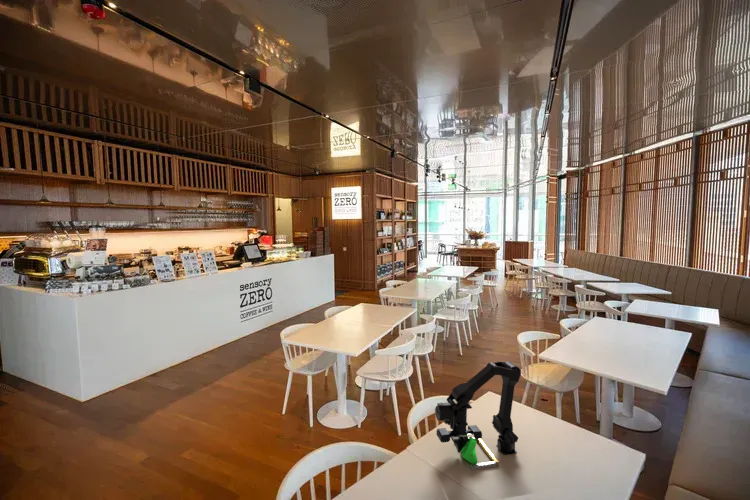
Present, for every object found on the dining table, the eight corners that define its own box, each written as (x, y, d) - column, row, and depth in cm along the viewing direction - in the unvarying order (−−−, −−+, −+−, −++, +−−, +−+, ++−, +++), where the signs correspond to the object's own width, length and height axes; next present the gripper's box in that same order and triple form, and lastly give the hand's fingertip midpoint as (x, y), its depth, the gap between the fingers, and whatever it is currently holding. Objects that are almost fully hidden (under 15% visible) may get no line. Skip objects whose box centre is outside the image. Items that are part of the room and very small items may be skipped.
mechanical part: (474, 465, 137) (485, 451, 136) (462, 456, 138) (472, 442, 137) (471, 446, 149) (481, 433, 148) (460, 438, 150) (469, 425, 149)
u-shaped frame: (478, 439, 154) (478, 435, 154) (498, 465, 137) (498, 461, 137) (454, 442, 152) (454, 439, 152) (471, 470, 135) (471, 465, 135)
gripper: (471, 405, 151) (470, 438, 152) (432, 409, 148) (431, 442, 149) (483, 419, 140) (482, 454, 141) (441, 423, 137) (440, 459, 138)
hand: (458, 452), depth 143 cm, fingers closed
